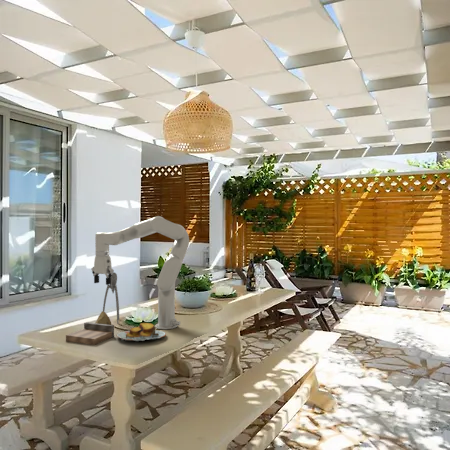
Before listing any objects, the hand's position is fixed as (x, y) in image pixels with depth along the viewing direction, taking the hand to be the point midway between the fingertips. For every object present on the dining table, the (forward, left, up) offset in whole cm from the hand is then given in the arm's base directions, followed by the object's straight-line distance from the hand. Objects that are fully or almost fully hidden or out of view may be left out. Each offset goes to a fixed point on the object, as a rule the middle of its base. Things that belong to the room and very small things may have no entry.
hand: (102, 283), depth 245 cm
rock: (-3, +4, -26) cm, 26 cm away
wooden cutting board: (-8, +22, -25) cm, 34 cm away
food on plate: (-32, +10, -26) cm, 42 cm away
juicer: (+3, -15, -26) cm, 30 cm away
